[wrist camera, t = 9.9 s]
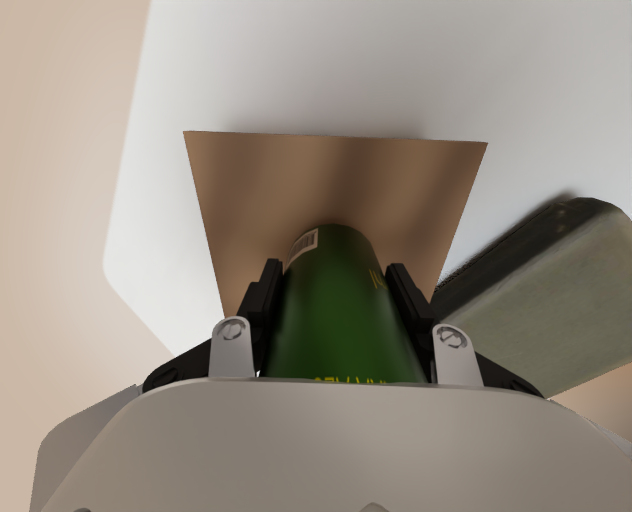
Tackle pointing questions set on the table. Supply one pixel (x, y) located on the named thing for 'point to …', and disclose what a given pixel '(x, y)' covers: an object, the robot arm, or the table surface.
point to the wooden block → (328, 199)
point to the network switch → (551, 297)
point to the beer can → (338, 315)
